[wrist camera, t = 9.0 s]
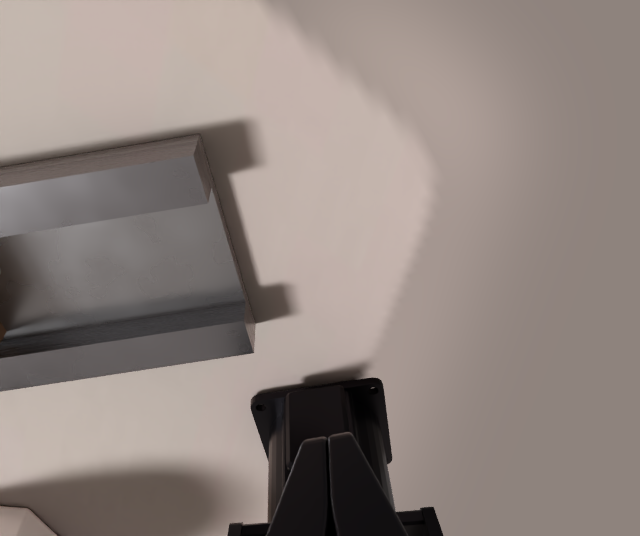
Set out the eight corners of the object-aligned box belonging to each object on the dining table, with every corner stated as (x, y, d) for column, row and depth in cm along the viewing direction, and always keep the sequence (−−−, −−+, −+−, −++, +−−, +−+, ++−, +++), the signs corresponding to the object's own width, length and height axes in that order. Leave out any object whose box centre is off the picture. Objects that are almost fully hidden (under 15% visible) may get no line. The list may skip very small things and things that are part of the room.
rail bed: (255, 324, 25) (253, 353, 23) (-101, 379, 25) (-124, 410, 24) (199, 133, 20) (193, 155, 18) (-247, 208, 20) (-288, 235, 19)
